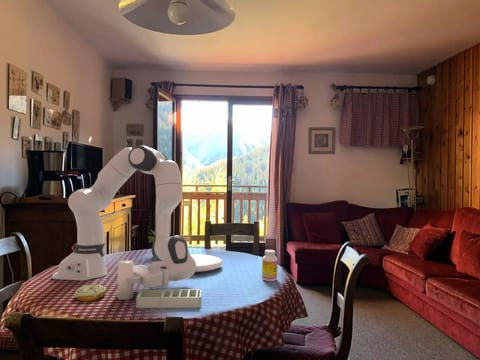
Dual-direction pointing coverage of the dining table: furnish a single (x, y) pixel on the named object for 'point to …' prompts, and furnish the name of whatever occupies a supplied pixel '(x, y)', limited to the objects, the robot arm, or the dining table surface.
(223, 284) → the dining table surface
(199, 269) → the plate
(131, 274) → the beige tall cylinder
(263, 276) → the supplement bottle
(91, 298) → the decorated donut
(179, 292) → the rack
